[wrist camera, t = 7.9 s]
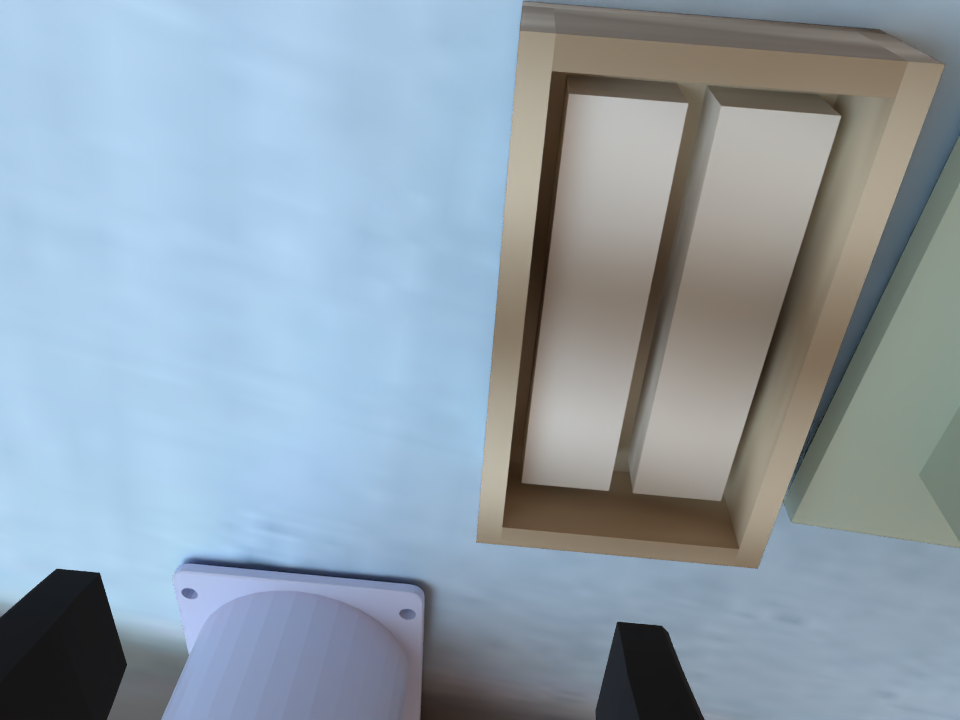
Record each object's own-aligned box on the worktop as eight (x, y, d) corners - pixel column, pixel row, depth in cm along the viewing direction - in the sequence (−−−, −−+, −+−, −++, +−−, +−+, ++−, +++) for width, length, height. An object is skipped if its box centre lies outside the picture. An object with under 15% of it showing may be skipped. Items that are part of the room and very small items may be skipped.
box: (732, 486, 22) (757, 568, 19) (483, 463, 22) (476, 542, 20) (878, 29, 15) (944, 64, 13) (522, 1, 16) (519, 30, 13)
